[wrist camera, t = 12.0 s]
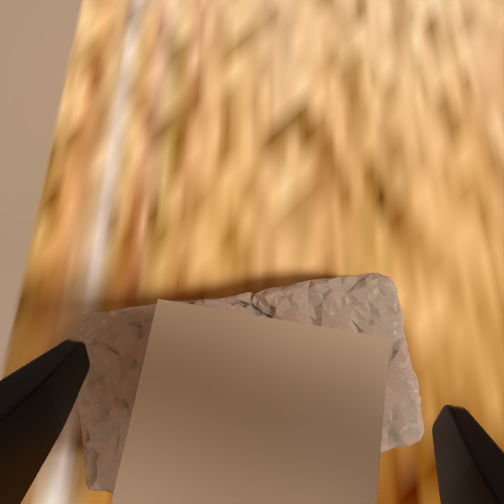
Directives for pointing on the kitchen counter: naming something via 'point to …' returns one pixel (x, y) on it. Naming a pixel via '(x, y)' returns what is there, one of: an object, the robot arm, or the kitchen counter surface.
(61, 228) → the kitchen counter surface
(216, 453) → the pillar block
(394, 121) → the kitchen counter surface
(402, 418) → the brick
